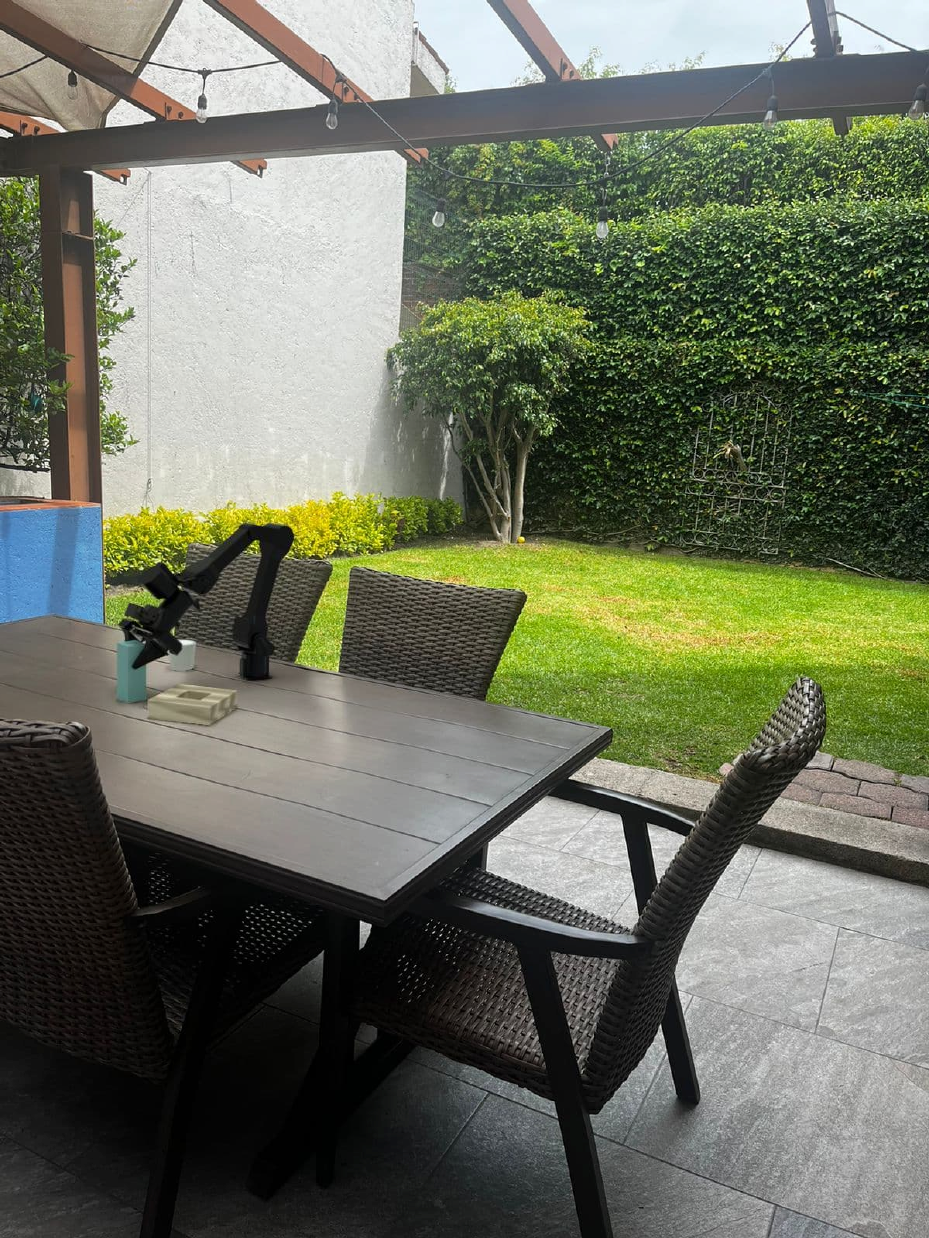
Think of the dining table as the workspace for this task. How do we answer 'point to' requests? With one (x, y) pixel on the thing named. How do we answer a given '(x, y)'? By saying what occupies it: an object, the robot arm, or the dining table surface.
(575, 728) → the dining table surface
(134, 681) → the peg
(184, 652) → the white short cylinder
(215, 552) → the robot arm
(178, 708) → the pocket block
